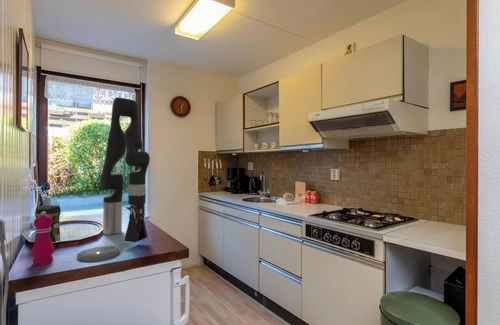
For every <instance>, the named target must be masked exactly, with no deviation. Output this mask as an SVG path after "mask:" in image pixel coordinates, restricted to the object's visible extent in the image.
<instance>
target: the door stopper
mask: <svg viewBox="0 0 500 325" xmlns="http://www.w3.org/2000/svg"><path fill="white" fill-rule="evenodd" d="M139 220H140V218H139ZM143 220H144V221H143V222H142V223H141V231H136V219H135V218H134V214H130V213H129V215H128V223H127V228H126V232H125V236H124V239H123V241H124V242H129V243H138V242H140V241H142V240H145V239H147V238H148V237H149V235H148V232H147V227H146V223H145V218H144V219H143Z"/></svg>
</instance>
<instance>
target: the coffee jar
mask: <svg viewBox="0 0 500 325" xmlns="http://www.w3.org/2000/svg"><path fill="white" fill-rule="evenodd" d="M43 211H45V212H46V215H48V216H50V217H52V219H53V223H52V225H51V226H50V227H51V231H50V239H51V241H52V242H56V241H60V242H61V229H60V217H61V213H62V210H61V207H60V205H56V204H55V205H53V204H44V205H38V206H36V208H35V212H34V214H35V215H34V216H35V219H36V218H37V217H38V216H42V215H41V212H43ZM36 238H37V233H36V232H35V237H34V243H35V242H36Z"/></svg>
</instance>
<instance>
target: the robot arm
mask: <svg viewBox="0 0 500 325" xmlns="http://www.w3.org/2000/svg"><path fill="white" fill-rule="evenodd" d="M111 108H112V109H111V119H110V129H109V133H108V138H107V144H106V151H105V159H104V163H103V166H102V170H101V171H102V172H101V175H100V180H99V185H100V188H101V189H102V190H105V191H106V190H107V191H108V190H113V191H112V192H111V193H110V194H108V195H106V196H104V197H103V201H102V204H103V206H102V207H103V209H102V211H103V212H102V213H103V214H102V215H103V216H102V219H103V220H102V221H103V222H102V224H103V225H102V234H103V235H118V234H120V233H122V230H123V229H122V227H123V226H122V225H123V224H122V223H123V216H122V215H123V194H124V193H123V192H124V176H123V174H122V173H121V172H112V171H113V168H114V167H115V165H116V164H117V163H118V162H119V161H120V160H121V159H122V158H123V157H124V156H125V157H124V158H125V164H126V165H127V166H129V167H139V168H138V170H134V171H131V172H129V175H128V190H127V192H128V193H127V196H128V199H127V200H128V201H127V203H128V205H129V208H130V209H129V210H130V212H129V215H130V214H134V218H135V219H136V231H141V223H142V222H143V221H144V222H145V213H144V212H145V209H144V208H142V205H145V204H146V200H147V199H146V192H147V189H146V188H147V187H146V175H147V170H148V167H149V165H150V160H151V157H150V155H149V153H148V152H147V151H142V150H141V149H142V148H143V142H142V137H141V133H140V124H139V123H140V121H139V120H140V119H139V107H138V103H137V101H135V100H134V99H130V98H124V97H120V96H117V97H116V96H115V98H114V99H113V100H112V107H111ZM121 117H125V118H130V122H129V125H128V126H127V128H126V129H125V131H123V129H122V126H121V123H120V122H121V119H120V118H121ZM140 150H141V151H140ZM139 218H140V220H139ZM143 219H144V220H143Z"/></svg>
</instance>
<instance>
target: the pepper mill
mask: <svg viewBox="0 0 500 325" xmlns="http://www.w3.org/2000/svg"><path fill="white" fill-rule="evenodd" d="M41 215H42V216H38V217H37V218H36V217H35V218H34V220H33V227H35V229H34V230H35V234H36V233H37V238H36V242H35V241H34V244H33V247H32V249H31V253H30V254H31V256H32V257H33V259H32V265H33V266H43V265H48V264H51V263H52V262H53V261H54V256H53V254H54V253H55V245H53V243H52V241H51V239H50V231H51V227H50V226H51V225H52V223H53V219H52V217H50V216H48V215H46V212H45V211H43V212H41Z"/></svg>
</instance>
